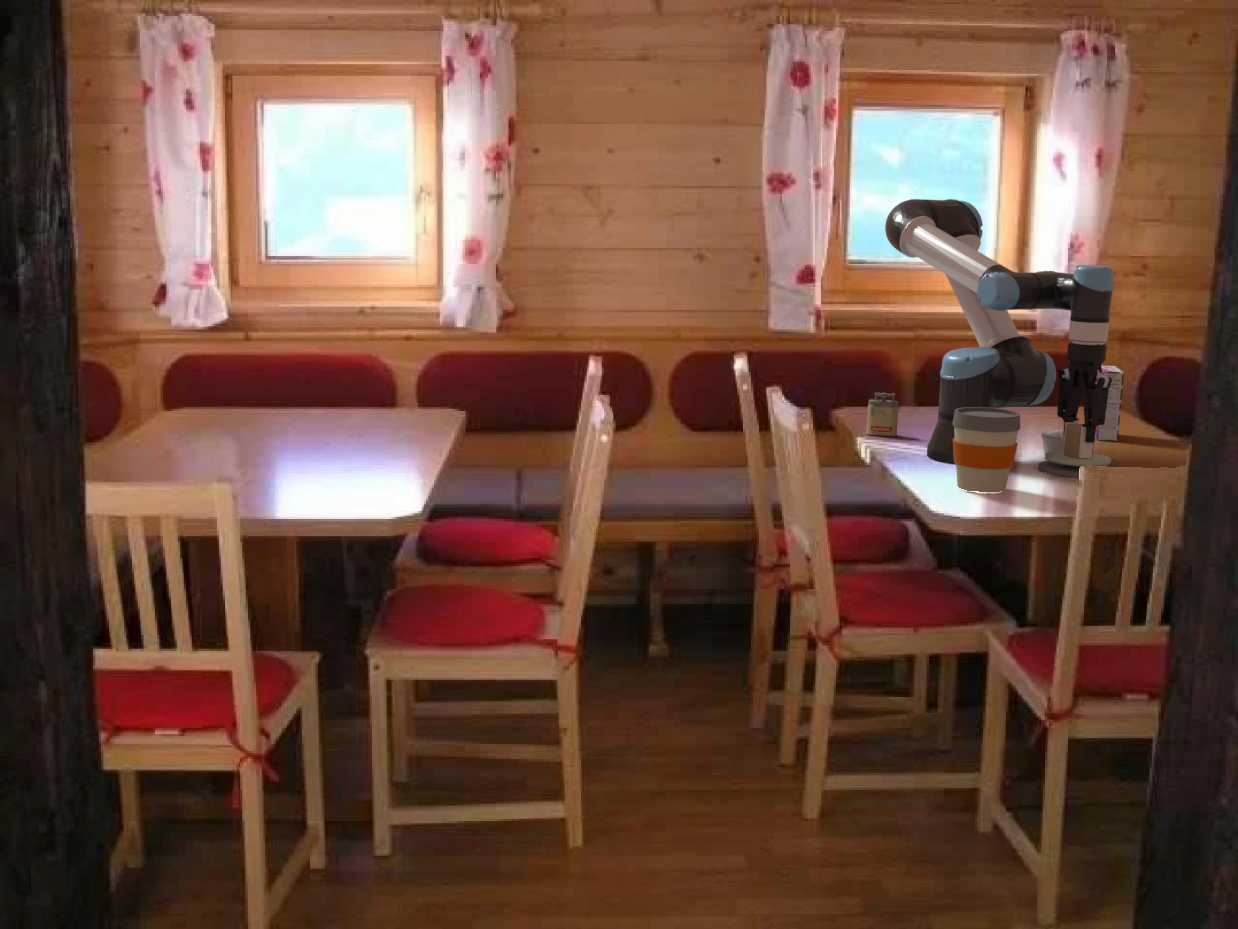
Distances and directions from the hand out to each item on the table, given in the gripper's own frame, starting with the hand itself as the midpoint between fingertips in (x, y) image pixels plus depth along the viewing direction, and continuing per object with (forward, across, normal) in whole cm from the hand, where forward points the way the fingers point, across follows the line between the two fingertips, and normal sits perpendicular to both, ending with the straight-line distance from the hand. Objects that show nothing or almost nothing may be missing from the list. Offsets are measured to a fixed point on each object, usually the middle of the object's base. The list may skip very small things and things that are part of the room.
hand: (1077, 455), depth 277 cm
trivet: (+3, 0, 0) cm, 3 cm away
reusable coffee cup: (+4, -9, +30) cm, 32 cm away
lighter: (+4, +47, +17) cm, 50 cm away
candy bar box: (+4, +31, -34) cm, 46 cm away
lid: (+1, 0, 0) cm, 1 cm away
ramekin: (+4, +13, -8) cm, 16 cm away
